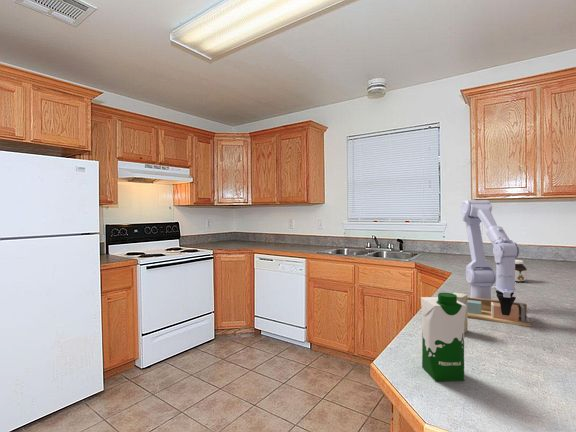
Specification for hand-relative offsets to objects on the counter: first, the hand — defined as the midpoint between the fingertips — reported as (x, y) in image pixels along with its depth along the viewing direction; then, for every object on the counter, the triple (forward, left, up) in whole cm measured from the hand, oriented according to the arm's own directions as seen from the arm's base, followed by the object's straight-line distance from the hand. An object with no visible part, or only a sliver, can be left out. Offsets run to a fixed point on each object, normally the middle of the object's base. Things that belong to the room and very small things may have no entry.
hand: (505, 312), depth 120 cm
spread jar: (-79, +11, -3) cm, 80 cm away
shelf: (-1, -3, -2) cm, 4 cm away
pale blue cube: (-1, -10, -2) cm, 10 cm away
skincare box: (+21, -14, -3) cm, 26 cm away
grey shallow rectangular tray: (0, +6, -2) cm, 6 cm away
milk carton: (+54, -16, -3) cm, 57 cm away
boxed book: (0, 0, -2) cm, 2 cm away
